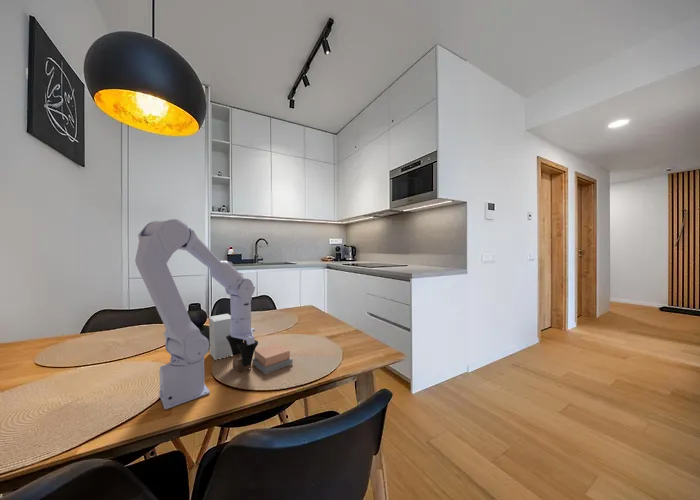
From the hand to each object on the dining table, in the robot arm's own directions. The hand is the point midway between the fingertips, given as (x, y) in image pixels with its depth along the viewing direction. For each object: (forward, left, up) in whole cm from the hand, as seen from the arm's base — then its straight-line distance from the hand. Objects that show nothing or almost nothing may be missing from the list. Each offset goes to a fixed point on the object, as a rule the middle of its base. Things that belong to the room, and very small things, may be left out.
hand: (242, 361), depth 79 cm
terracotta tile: (+8, -4, 0) cm, 9 cm away
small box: (-1, +15, -3) cm, 15 cm away
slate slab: (+8, -4, -3) cm, 9 cm away
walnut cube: (0, 0, -2) cm, 2 cm away
